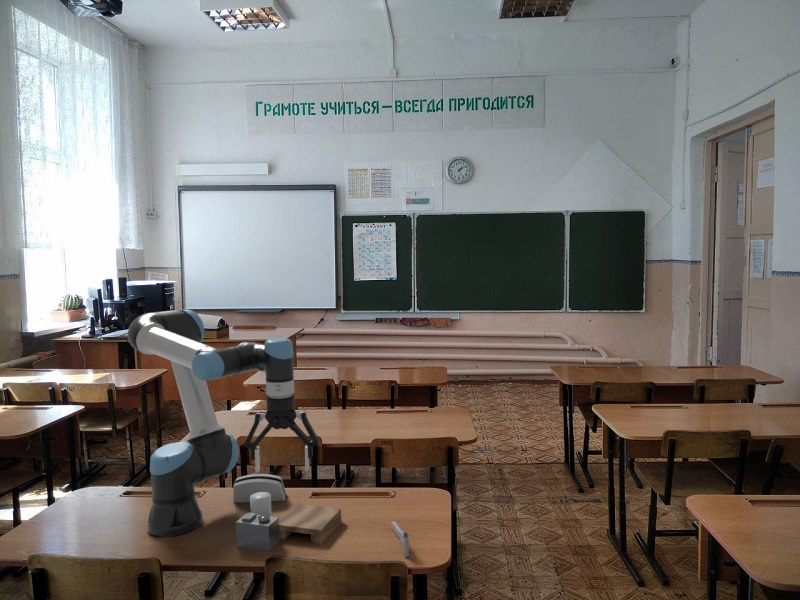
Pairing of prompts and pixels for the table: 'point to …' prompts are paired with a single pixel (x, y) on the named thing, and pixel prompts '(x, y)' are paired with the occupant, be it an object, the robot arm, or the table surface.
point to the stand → (310, 522)
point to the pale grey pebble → (261, 503)
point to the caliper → (402, 538)
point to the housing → (257, 531)
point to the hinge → (258, 487)
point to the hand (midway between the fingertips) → (282, 470)
